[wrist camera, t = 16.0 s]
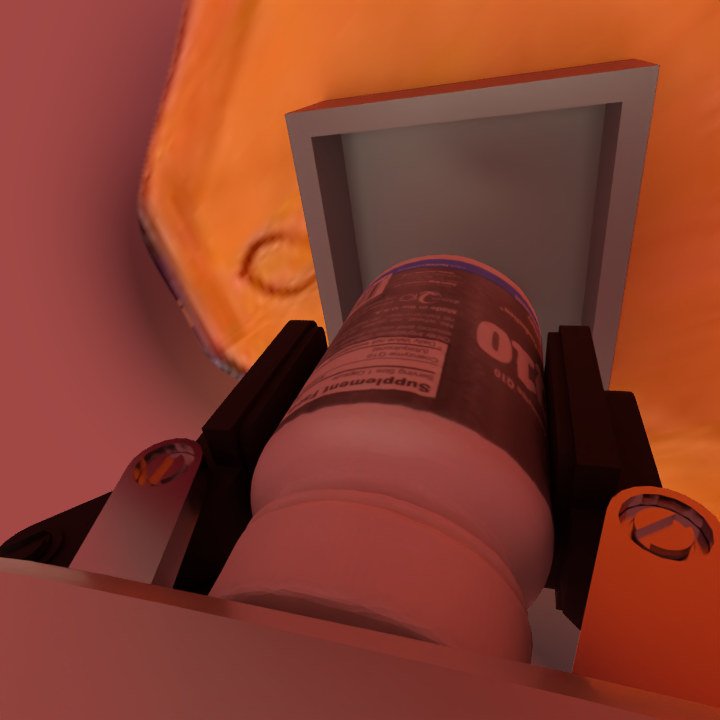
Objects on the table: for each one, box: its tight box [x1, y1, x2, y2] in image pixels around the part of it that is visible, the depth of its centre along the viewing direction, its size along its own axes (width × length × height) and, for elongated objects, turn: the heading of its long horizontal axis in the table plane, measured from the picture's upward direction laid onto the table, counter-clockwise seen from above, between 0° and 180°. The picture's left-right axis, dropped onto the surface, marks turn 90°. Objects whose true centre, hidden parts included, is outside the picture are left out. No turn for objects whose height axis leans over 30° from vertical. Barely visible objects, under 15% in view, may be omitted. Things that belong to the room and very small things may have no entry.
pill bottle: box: [208, 255, 555, 664], centre depth 9 cm, size 5×5×8 cm
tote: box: [285, 59, 660, 390], centre depth 25 cm, size 18×14×5 cm
